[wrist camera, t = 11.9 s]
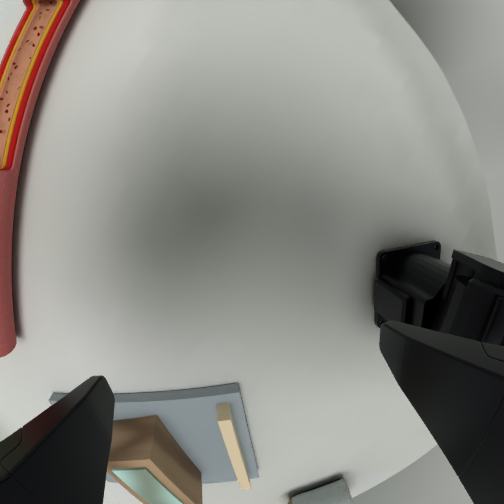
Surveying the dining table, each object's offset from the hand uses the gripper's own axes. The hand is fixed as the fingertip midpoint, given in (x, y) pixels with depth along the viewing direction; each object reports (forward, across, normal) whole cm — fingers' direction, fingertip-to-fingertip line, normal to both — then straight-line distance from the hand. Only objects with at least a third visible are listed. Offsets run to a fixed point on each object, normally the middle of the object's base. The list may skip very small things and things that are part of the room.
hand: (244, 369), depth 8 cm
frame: (+11, +10, +17) cm, 23 cm away
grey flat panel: (+12, +10, +17) cm, 23 cm away
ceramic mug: (+12, -6, +36) cm, 38 cm away
